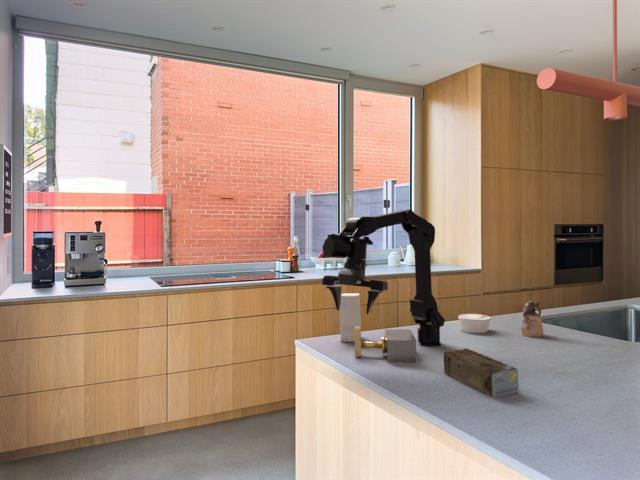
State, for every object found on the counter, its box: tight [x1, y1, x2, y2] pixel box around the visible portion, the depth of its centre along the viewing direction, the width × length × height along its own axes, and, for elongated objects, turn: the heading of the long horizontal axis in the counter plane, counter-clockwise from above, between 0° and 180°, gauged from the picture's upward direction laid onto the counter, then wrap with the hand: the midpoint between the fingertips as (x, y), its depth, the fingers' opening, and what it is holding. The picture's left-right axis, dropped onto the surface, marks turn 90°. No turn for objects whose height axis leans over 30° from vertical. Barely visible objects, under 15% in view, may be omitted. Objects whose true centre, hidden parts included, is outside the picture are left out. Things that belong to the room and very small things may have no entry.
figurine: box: [520, 300, 544, 338], centre depth 166 cm, size 7×7×12 cm
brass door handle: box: [354, 327, 387, 358], centre depth 143 cm, size 14×5×8 cm, turn 86°
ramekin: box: [457, 313, 492, 334], centre depth 175 cm, size 11×11×5 cm
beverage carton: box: [443, 348, 519, 398], centre depth 118 cm, size 8×19×7 cm, turn 20°
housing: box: [384, 328, 417, 364], centre depth 143 cm, size 8×14×6 cm, turn 176°
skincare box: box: [339, 292, 362, 343], centre depth 165 cm, size 8×7×16 cm
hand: (352, 312), depth 141 cm, fingers open, 9 cm apart
